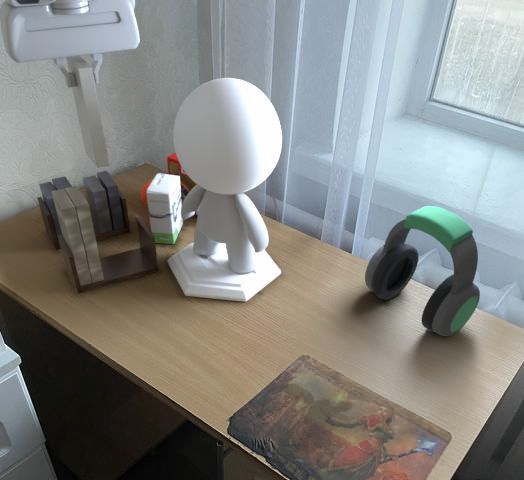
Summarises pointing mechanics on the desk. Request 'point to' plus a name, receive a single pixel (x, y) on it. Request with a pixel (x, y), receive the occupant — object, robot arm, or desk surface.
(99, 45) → the robot arm
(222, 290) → the big headed doll
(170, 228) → the ink box
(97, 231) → the grey book rack
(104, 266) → the brown book rack
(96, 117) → the white book
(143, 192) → the clementine
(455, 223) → the headphones
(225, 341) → the desk surface
